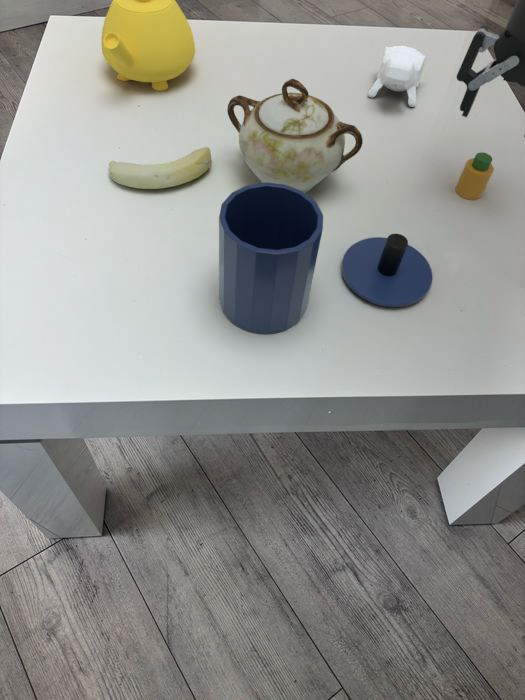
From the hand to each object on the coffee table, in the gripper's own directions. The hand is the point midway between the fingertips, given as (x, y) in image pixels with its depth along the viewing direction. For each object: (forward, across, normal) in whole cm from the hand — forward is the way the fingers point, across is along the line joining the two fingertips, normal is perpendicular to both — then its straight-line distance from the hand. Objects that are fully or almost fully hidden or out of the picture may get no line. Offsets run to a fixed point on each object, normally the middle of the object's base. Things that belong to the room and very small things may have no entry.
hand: (496, 124), depth 73 cm
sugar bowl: (+12, -25, -12) cm, 30 cm away
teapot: (+12, -58, 0) cm, 59 cm away
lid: (+11, -5, -23) cm, 26 cm away
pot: (+11, -17, -34) cm, 40 cm away
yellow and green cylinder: (+11, 0, 0) cm, 11 cm away
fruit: (+12, -41, -20) cm, 47 cm away
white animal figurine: (+12, -18, +20) cm, 29 cm away
